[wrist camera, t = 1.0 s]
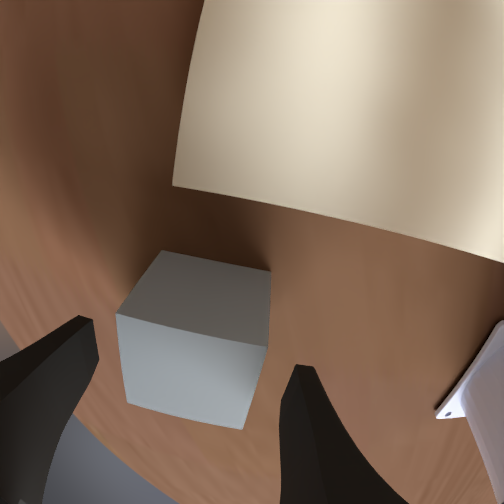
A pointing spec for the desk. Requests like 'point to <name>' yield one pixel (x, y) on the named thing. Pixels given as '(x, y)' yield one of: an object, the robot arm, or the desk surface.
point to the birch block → (353, 113)
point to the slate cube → (195, 338)
